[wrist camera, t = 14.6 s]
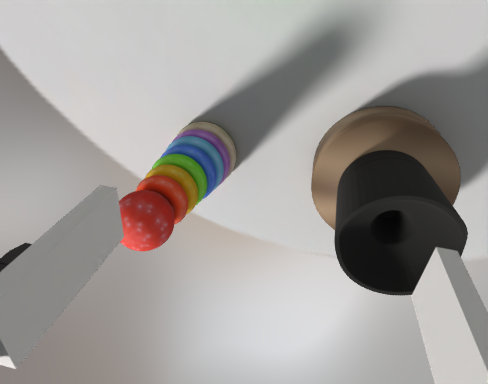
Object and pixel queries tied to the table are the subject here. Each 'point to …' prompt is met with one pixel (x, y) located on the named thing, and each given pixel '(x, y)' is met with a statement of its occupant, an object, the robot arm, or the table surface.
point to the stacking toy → (176, 184)
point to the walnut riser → (375, 139)
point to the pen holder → (392, 222)
